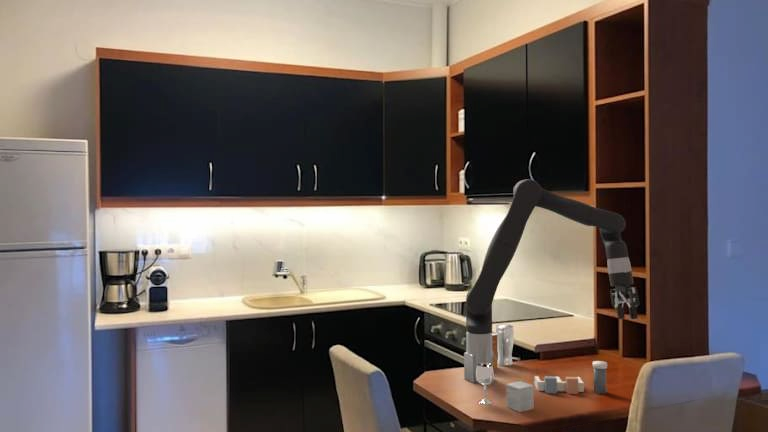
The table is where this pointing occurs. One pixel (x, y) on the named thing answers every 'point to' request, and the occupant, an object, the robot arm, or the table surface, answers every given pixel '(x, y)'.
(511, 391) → the product box
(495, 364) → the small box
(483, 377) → the wineglass
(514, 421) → the table surface
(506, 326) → the beer glass
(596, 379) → the blue white-capped bottle
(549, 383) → the socket block
